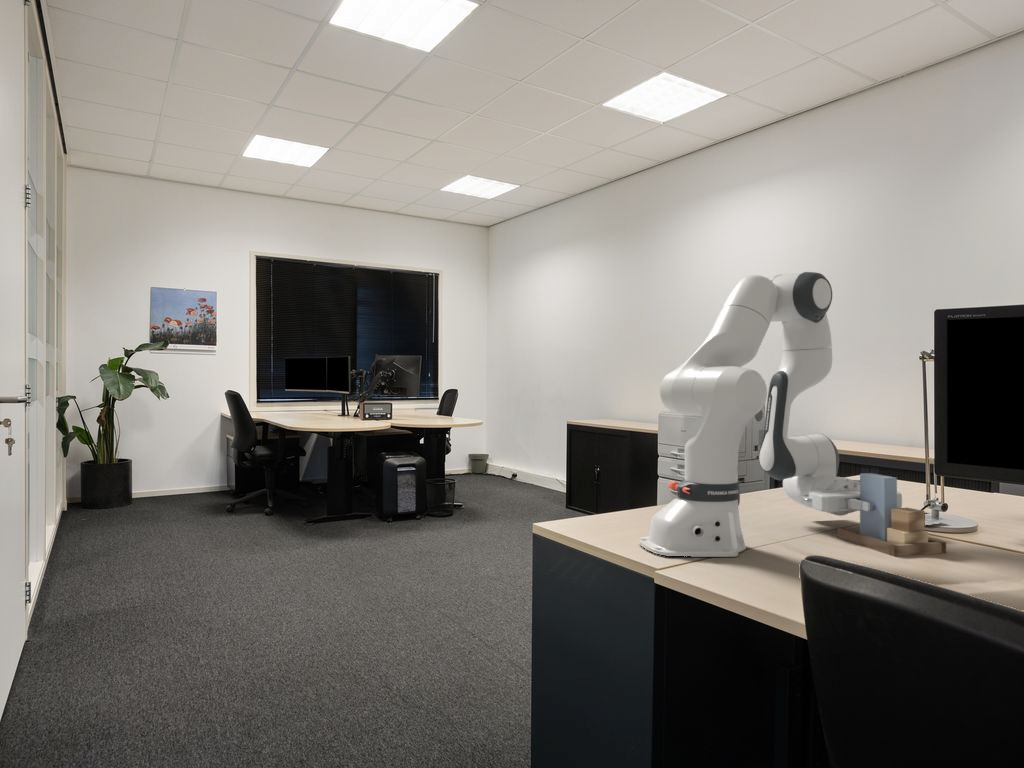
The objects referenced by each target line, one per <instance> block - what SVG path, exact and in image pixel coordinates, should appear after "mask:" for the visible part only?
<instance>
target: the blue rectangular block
mask: <svg viewBox="0 0 1024 768" xmlns="http://www.w3.org/2000/svg"><path fill="white" fill-rule="evenodd" d="M859 480H860V501H868V502H872V503H874V510H873V511H864V510H860V511H859V533H860V534H863V535H866V536H869V537H872V538H875V539H879V540H882V541H885V542H887V528H891V509H897V491H898V477H896V476H895V477H893V476H889V475H883V474H877V473H872V472H869V473H868V472H867V473H860V474H859Z"/></svg>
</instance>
